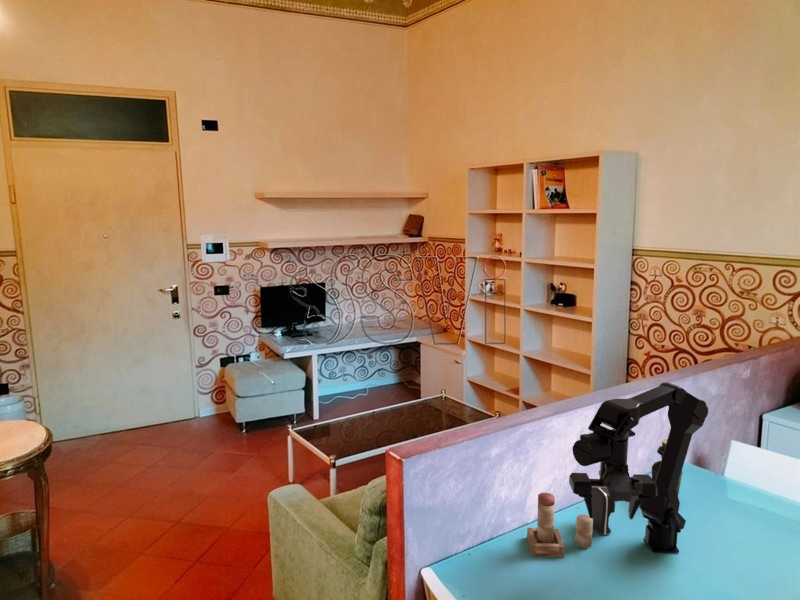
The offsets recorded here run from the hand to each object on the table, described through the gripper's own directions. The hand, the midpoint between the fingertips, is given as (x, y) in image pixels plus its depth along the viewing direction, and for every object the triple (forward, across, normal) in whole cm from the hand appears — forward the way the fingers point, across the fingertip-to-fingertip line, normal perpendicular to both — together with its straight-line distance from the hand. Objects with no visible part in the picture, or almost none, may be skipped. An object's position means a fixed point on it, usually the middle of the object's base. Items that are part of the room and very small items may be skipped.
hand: (610, 517), depth 137 cm
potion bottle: (+13, +25, +33) cm, 44 cm away
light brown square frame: (+13, -14, +8) cm, 20 cm away
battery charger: (+13, +3, +17) cm, 22 cm away
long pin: (+12, -14, +8) cm, 20 cm away
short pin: (+13, -4, +10) cm, 16 cm away
